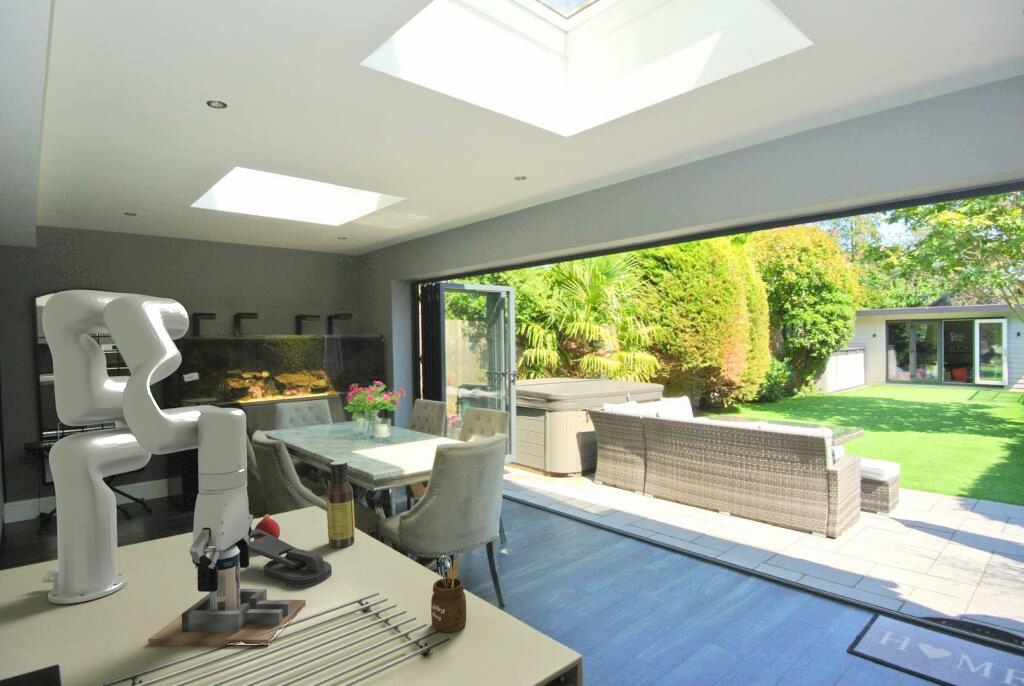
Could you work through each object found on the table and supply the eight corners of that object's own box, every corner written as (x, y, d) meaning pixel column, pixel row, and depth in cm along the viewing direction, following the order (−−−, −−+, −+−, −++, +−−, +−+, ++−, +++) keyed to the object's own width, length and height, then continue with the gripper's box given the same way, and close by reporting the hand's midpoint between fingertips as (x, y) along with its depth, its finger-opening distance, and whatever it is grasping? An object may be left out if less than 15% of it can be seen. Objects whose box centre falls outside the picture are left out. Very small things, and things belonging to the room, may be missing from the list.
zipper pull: (259, 526, 130) (337, 542, 118) (259, 555, 130) (338, 574, 118) (223, 539, 122) (303, 557, 110) (223, 569, 122) (304, 591, 110)
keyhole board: (148, 645, 91) (147, 620, 91) (201, 604, 105) (200, 583, 105) (268, 645, 90) (268, 620, 90) (305, 605, 104) (305, 583, 104)
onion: (273, 552, 131) (273, 518, 131) (249, 553, 131) (248, 519, 131) (284, 544, 137) (283, 511, 137) (260, 544, 137) (259, 511, 137)
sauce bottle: (338, 538, 140) (336, 458, 140) (360, 540, 138) (358, 459, 138) (322, 547, 134) (320, 463, 134) (344, 549, 132) (342, 465, 132)
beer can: (246, 614, 98) (245, 546, 98) (220, 626, 94) (218, 555, 94) (231, 608, 101) (229, 541, 101) (204, 619, 97) (203, 550, 97)
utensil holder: (458, 613, 99) (457, 545, 99) (472, 628, 94) (471, 556, 94) (426, 621, 96) (425, 551, 97) (439, 638, 91) (437, 563, 91)
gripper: (230, 469, 106) (231, 559, 106) (169, 493, 89) (171, 601, 89) (268, 468, 106) (270, 559, 106) (215, 493, 89) (216, 601, 88)
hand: (224, 578), depth 97 cm, fingers open, 9 cm apart
